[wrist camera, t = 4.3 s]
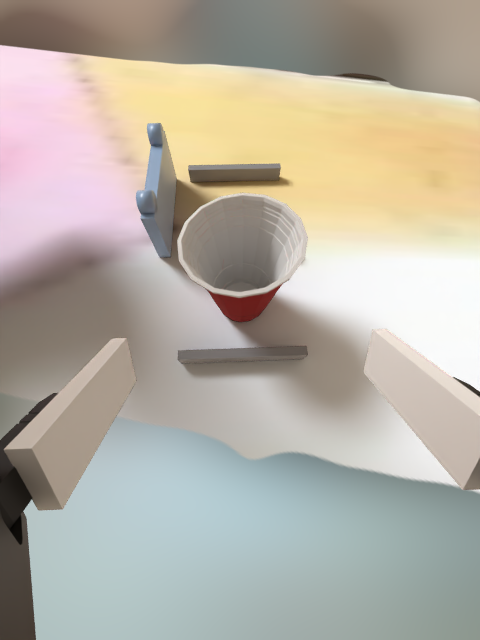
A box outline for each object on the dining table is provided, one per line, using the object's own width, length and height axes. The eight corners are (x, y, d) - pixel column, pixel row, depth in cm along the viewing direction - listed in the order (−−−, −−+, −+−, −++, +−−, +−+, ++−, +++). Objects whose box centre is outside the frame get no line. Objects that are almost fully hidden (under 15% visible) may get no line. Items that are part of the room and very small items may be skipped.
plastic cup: (220, 254, 34) (211, 173, 22) (294, 282, 32) (324, 210, 21) (181, 320, 30) (148, 263, 19) (263, 356, 28) (280, 317, 17)
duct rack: (148, 364, 28) (112, 343, 20) (167, 177, 39) (148, 115, 31) (303, 358, 28) (329, 335, 20) (277, 175, 39) (288, 112, 31)
